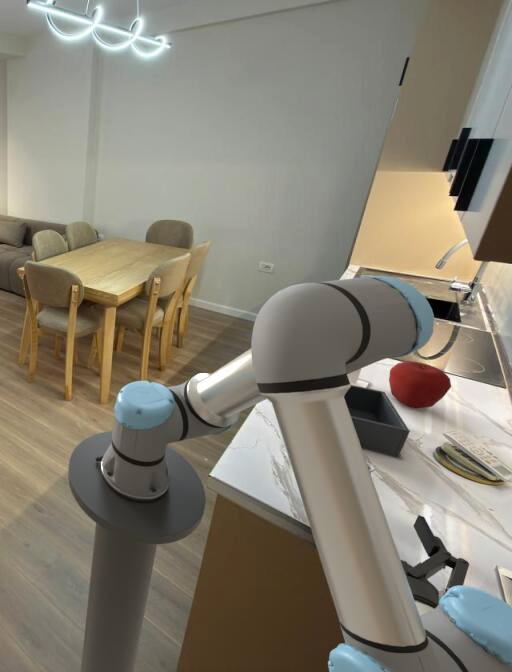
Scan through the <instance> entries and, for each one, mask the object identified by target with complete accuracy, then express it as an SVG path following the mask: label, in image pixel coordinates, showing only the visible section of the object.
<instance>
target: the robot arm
mask: <svg viewBox="0 0 512 672" xmlns="http://www.w3.org/2000/svg"><path fill="white" fill-rule="evenodd" d="M434 323H435V315H434V312H433V308H432V307H431V304H430V303H429V301H428V299H427V298H426V296H424V295H423V293H422V292H420V290H418V289H417V288H416V287H414V286H413V285H411V284H410V283H408V282H406V281H404V280H402V279H399V278H396V277H391V276H385V275H370V274H369V275H368V274H367V275H366V274H365V275H360V276H356V277H353V278H345V279H336V280H335V279H334V280H325V281H318V282H317V281H316V282H303V283H298V284H292V285H290V286H287V287H285V288H283V289H281V290H279V291H277V292H276V293H275V294H273V295H272V296H271V297H270V298H269V299H268V300H267V301H266V302H265V303H264V304H263V305H262V307H261V308H260V310H259V312H258V314H257V316H256V319H255V320H254V325H253V328H252V334H251V341H250V342H251V345H250V347H251V348H249V349H248V350H246V351H244V352H243V353H242V354H240V355H239V356H236V358H234V359H232V360H231V361H229V362H228V363H226V364H224V365H223V366H221V367H220V368H218V369H217V370H215V371H214V372H212V373H209V372H202V373H197V374H196V375H193V376H192V377H191V378H189V379H188V380H186V381H185V382H183V383H181V384H178V385H172V386H165V385H163V384H161V383H159V382H156V381H152V382H149V380H136V381H133V382H130V383H127V384H126V385H124V386H123V387H122V388H121V389H120V390H119V392H118V394H117V397H116V402H115V405H114V410H113V411H114V417H113V418H114V419H113V429H112V431H113V435H112V443H111V444H110V446H109V448H108V449H107V451H106V453H105V455H104V456H100V457H96V461H102V462H101V475H102V478H103V480H104V482H105V483H106V485H107V486H108V487H109V488H110V489H111V490H112V491H113V492H114V493H116V494H117V495H119V496H120V497H122V498H124V499H127V500H129V501H133V502H137V503H152V502H155V501H158V500H160V499H161V498H163V497H164V496H165V495H166V493H167V491H168V487H169V481H170V478H169V473H168V464H166V460H165V452H166V446H168V445H169V444H172V443H177V442H181V441H186V440H191V439H197V438H202V437H206V436H210V435H219V434H222V433H225V432H226V431H229V430H231V429H232V428H233V427H235V426H236V424H237V422H238V421H239V418H240V415H241V412H242V411H244V410H247V409H248V408H250V407H251V408H252V407H253V406H256V405H257V404H259V403H261V402H264V401H266V400H267V401H269V402H270V403H271V405H272V407H273V411H274V414H275V418H276V420H277V424H278V427H279V431H280V433H281V437H282V440H283V443H284V447H285V450H286V453H287V455H288V456H287V457H288V459H289V462H290V463H289V464H290V466H291V469H292V472H293V475H294V479H295V482H296V486H297V488H298V489H297V490H298V491H299V495H300V498H301V501H302V505H303V507H304V511H305V514H306V517H307V520H308V524H309V527H310V530H311V533H312V536H313V539H314V540H313V541H314V544H315V546H316V550H317V553H318V556H319V560H320V562H321V566H322V569H323V572H324V575H325V578H326V579H325V580H326V582H327V585H328V588H329V592H330V595H331V598H332V601H333V604H334V607H335V610H336V614H337V617H338V622H339V626H340V629H341V632H342V636H343V639H344V642H343V643H339V644H338V645H337V646H336V647H335V648H334V649H332V650H331V651H330V652H329V656H328V661H327V667H328V671H329V672H512V606H511V605H510V604H509V603H507V602H506V601H504V600H503V599H501V598H499V597H497V596H495V595H493V594H492V593H490V592H487V591H485V590H483V589H480V588H477V587H474V586H469V585H464V583H465V581H466V577H467V573H468V570H469V567H470V563H469V562H468V560H466V559H464V558H462V557H455V556H453V554H451V552H450V551H448V549H447V548H446V546H445V544H444V543H443V541H442V539H441V538H440V537H439V536H436V535H434V532H433V531H432V529H431V527H430V525H429V523H428V521H427V519H426V518H425V516H423V515H420V514H418V515H417V517H416V520H415V521H414V523H413V529H414V530H415V532H416V534H417V537H418V539H419V540H420V543H421V545H422V546H423V549H424V551H425V553H426V555H427V557H428V558H427V559H425V560H424V561H422V562H419V563H417V564H415V565H414V566H412V565H411V564H409V563H408V561H406V560H403V559H401V558H400V555H399V552H398V549H397V546H396V543H395V540H394V537H393V535H392V531H391V529H390V526H389V523H388V520H387V517H386V514H385V511H384V509H383V506H382V505H383V504H382V503H381V500H380V497H379V494H378V491H377V488H376V485H375V483H374V480H373V477H372V473H371V474H370V471H369V468H368V465H367V462H368V461H367V459H366V457H365V453H364V450H363V448H361V445H360V442H359V439H358V436H357V433H356V430H355V428H354V425H353V422H352V419H351V416H350V413H349V410H348V407H347V404H346V402H345V399H344V396H345V394H346V392H347V391H348V390H349V388H350V387H351V385H350V382H349V379H348V376H347V374H349V373H352V372H354V371H356V370H359V369H361V370H362V369H364V368H365V367H368V366H370V365H373V364H375V363H377V362H380V361H383V360H385V359H389V358H402V357H406V356H408V355H411V354H413V353H414V352H417V351H419V350H420V349H421V348H423V347H424V346H426V345H427V344H428V342H429V341H430V339H431V338H432V336H433V334H434V325H435V324H434ZM446 567H448V568H450V569H451V572H450V575H449V578H448V581H447V584H446V587H444V588H441V590H438V588H437V587H436V586H435V585H434V584H433V583H431V581H430V580H428V579H430V578H431V577H432V576H434V575H436V574H437V573H439V572H440V571H441V570H445V569H446Z"/></svg>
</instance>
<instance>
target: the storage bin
mask: <svg viewBox="0 0 512 672" xmlns="http://www.w3.org/2000/svg"><path fill="white" fill-rule="evenodd" d="M344 399H345V402H346V404H347V407H348V410H349V413H350V416H351V419H352V422H353V425H354V428H355V430H356V433H357V436H358V439H359V442H360V445H361V448H362V449H365V450H369V451H373V452H377V453H380V454H384V455H388V456H391V457H395V458H399V457H400V455H401V453H402V450H403V448H404V446H405V443H406V441H407V439H408V437H409V434H410V429H409V428H408V426H407V425H406V423H405V422H404V420H403V418H402V417H401V415H400V414H399V412H398V411H397V409H396V407H395V406H394V404H393V403H392V401H391V399H390V398H389V397H388V395H387V393H386V391H383V390H378V389H373V388H368V387H366V388H364V387H359V386H354V385H351V387H350V388H349V390H348V391H347V392H346V394H345V396H344Z"/></svg>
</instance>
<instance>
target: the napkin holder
mask: <svg viewBox="0 0 512 672" xmlns="http://www.w3.org/2000/svg"><path fill="white" fill-rule="evenodd" d="M361 371H362V368H361V369H359V370H356V371H354V372H352V373H349V374H347V376H348V379H349V382H350V385H354V386H359V387H364V388H368V386H369V382H366V381H363V380H361V379H359V377H360V374H361Z"/></svg>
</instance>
